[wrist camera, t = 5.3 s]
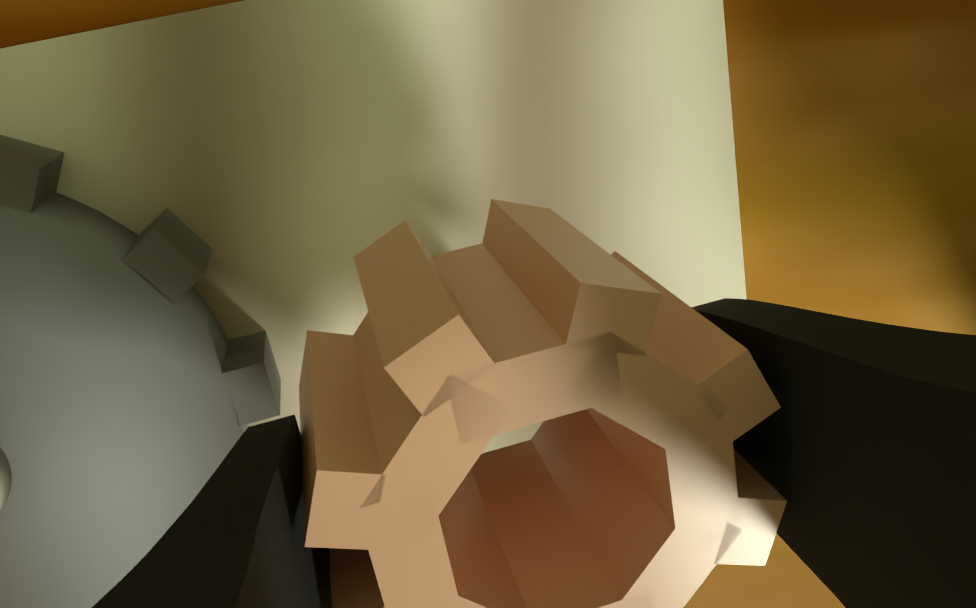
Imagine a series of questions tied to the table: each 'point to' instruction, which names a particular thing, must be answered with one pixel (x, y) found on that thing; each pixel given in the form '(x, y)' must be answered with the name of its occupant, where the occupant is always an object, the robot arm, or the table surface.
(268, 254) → the gear board
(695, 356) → the loose gear
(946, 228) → the table surface
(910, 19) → the table surface
